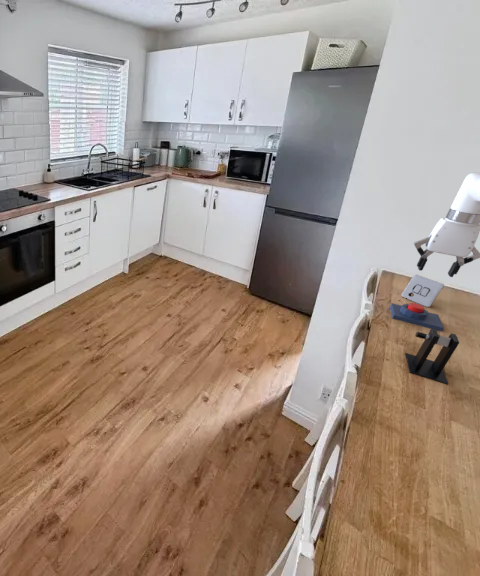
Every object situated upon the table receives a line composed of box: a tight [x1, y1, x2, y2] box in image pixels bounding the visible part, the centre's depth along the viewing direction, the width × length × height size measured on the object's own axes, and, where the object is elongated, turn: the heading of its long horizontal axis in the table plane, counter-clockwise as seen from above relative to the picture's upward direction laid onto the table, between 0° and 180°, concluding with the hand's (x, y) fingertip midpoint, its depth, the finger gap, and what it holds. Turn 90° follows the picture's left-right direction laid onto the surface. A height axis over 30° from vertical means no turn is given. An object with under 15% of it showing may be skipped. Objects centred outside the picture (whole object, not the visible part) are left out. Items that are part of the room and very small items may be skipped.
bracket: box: [404, 328, 460, 386], centre depth 97 cm, size 10×8×12 cm
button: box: [407, 302, 425, 313], centre depth 122 cm, size 4×4×2 cm
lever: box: [414, 331, 451, 347], centre depth 99 cm, size 13×5×2 cm, turn 149°
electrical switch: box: [401, 274, 445, 308], centre depth 134 cm, size 9×5×9 cm, turn 28°
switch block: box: [388, 302, 444, 332], centre depth 122 cm, size 13×10×4 cm
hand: (434, 271), depth 116 cm, fingers open, 6 cm apart
